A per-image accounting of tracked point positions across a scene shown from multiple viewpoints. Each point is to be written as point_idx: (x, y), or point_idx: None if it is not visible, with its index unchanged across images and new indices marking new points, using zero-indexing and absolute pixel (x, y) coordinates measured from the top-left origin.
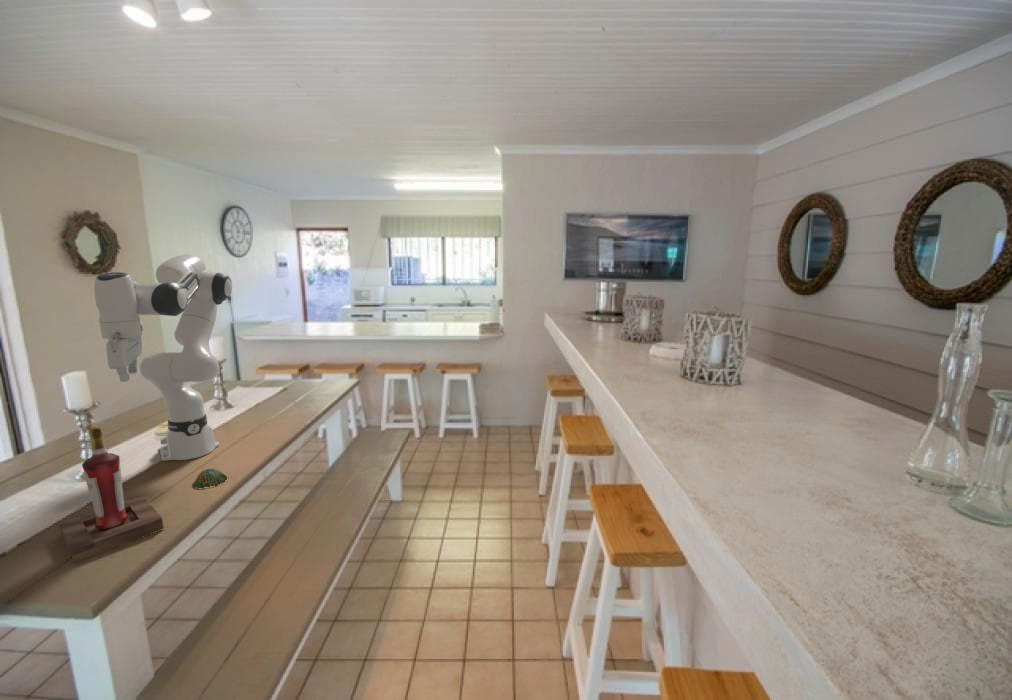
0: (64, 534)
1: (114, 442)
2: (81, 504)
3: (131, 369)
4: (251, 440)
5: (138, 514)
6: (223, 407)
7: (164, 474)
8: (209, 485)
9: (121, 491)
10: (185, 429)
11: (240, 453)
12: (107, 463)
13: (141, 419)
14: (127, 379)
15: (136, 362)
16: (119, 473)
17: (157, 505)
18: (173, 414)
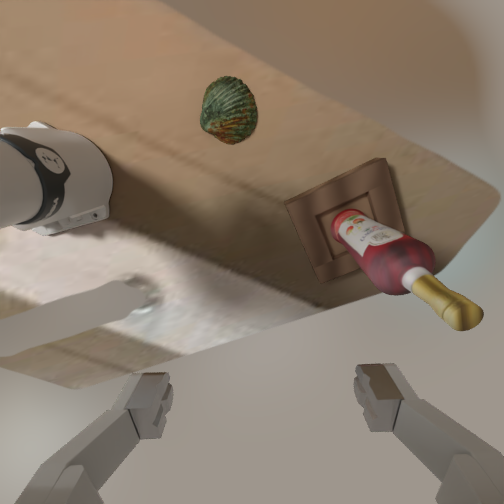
0: (356, 269)
1: (12, 306)
2: (238, 281)
3: (157, 413)
4: (11, 41)
5: (351, 196)
6: None
7: (169, 201)
8: (253, 108)
9: (374, 222)
10: (59, 178)
11: (94, 63)
12: (432, 252)
13: None
14: (400, 371)
15: (83, 448)
16: (395, 230)
17: (287, 185)
18: (21, 210)
